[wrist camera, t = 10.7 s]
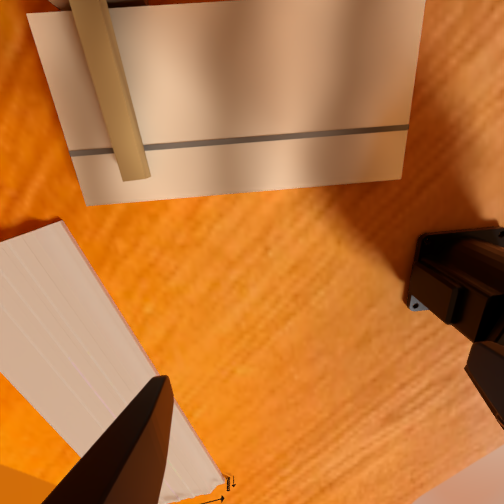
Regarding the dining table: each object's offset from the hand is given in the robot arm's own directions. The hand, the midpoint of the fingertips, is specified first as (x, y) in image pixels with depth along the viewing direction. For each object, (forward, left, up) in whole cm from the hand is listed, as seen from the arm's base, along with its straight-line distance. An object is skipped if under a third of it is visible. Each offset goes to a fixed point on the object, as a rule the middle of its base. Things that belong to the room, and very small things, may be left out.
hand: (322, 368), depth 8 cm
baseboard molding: (+14, +14, -13) cm, 24 cm away
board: (+1, -8, -12) cm, 14 cm away
